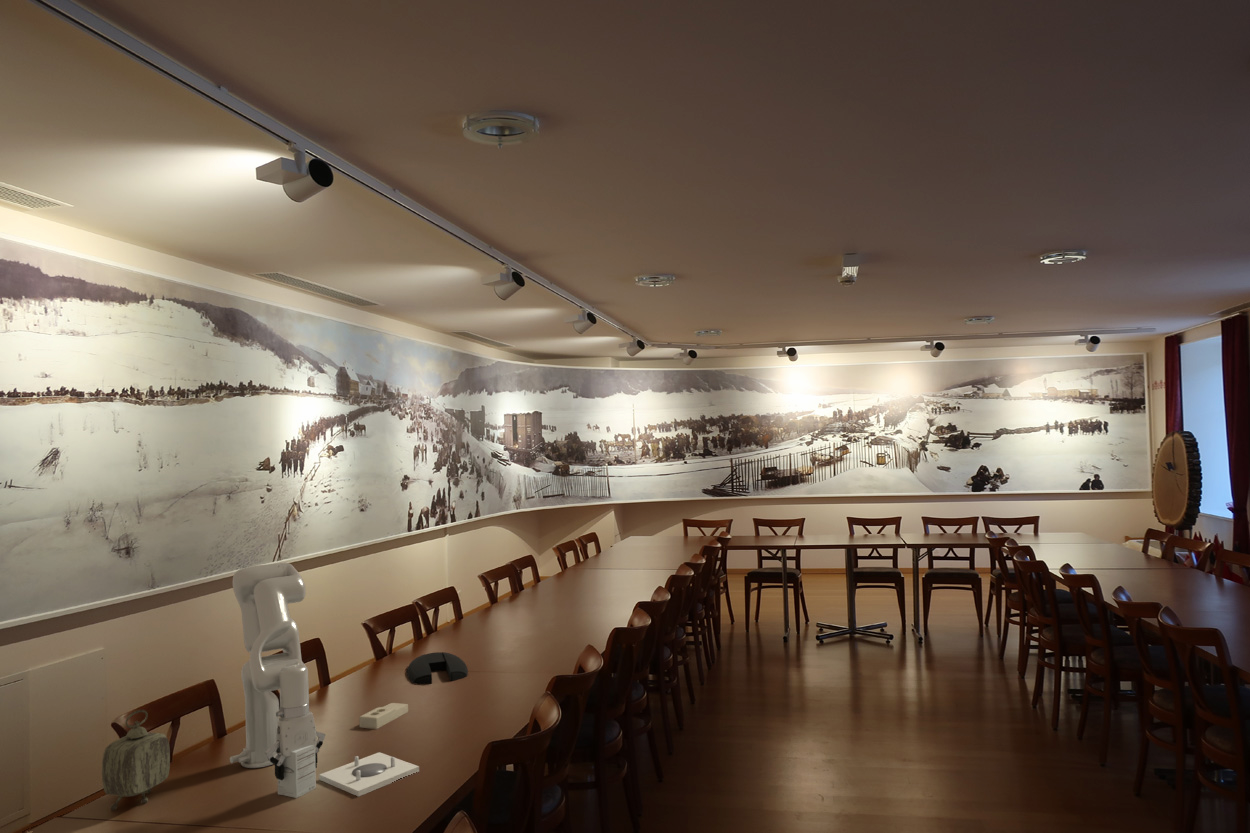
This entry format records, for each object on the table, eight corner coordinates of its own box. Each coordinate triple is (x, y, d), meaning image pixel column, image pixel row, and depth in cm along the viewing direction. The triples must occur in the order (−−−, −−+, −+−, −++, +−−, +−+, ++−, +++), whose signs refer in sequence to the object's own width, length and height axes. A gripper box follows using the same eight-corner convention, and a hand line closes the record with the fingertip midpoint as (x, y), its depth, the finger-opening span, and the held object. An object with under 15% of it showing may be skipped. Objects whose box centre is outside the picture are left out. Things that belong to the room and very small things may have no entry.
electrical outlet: (407, 701, 289) (376, 717, 272) (408, 712, 288) (376, 730, 272) (391, 700, 291) (359, 716, 274) (391, 711, 291) (359, 728, 274)
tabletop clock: (148, 790, 228) (147, 701, 229) (173, 792, 225) (172, 703, 226) (102, 812, 214) (101, 718, 215) (128, 816, 211) (127, 720, 212)
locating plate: (358, 796, 218) (358, 781, 218) (319, 779, 230) (319, 765, 230) (419, 771, 233) (418, 757, 233) (379, 757, 246) (379, 743, 246)
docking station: (460, 656, 366) (460, 645, 366) (472, 679, 328) (471, 667, 328) (404, 663, 358) (404, 652, 358) (409, 687, 320) (409, 675, 320)
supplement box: (276, 795, 221) (275, 749, 221) (298, 784, 228) (296, 739, 228) (296, 799, 218) (294, 752, 218) (317, 788, 224) (315, 742, 225)
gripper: (271, 722, 214) (273, 786, 214) (330, 704, 228) (332, 765, 227) (258, 717, 219) (259, 780, 218) (316, 700, 233) (318, 760, 232)
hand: (296, 772), depth 223 cm, fingers open, 9 cm apart
